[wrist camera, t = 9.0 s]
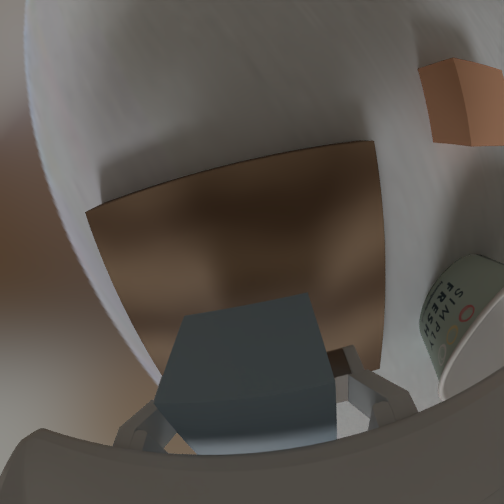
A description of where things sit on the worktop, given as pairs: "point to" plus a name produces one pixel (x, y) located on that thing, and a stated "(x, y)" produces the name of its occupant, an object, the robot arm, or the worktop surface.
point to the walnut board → (254, 245)
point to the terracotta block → (464, 102)
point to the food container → (465, 323)
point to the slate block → (250, 379)
